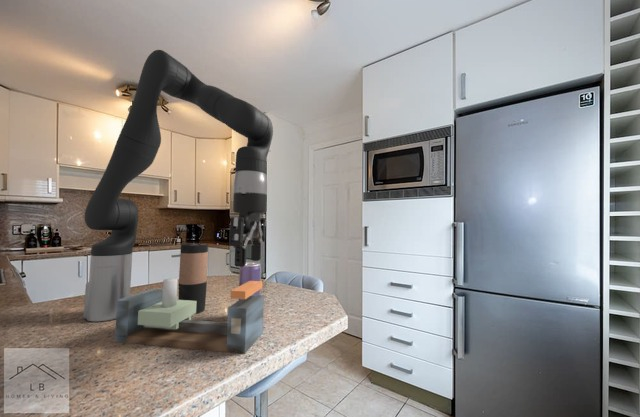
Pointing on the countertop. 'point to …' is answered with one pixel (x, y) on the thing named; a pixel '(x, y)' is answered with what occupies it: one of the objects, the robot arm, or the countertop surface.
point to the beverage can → (250, 274)
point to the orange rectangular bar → (246, 290)
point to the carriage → (167, 309)
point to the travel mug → (193, 274)
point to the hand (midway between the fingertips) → (248, 263)
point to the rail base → (192, 326)
